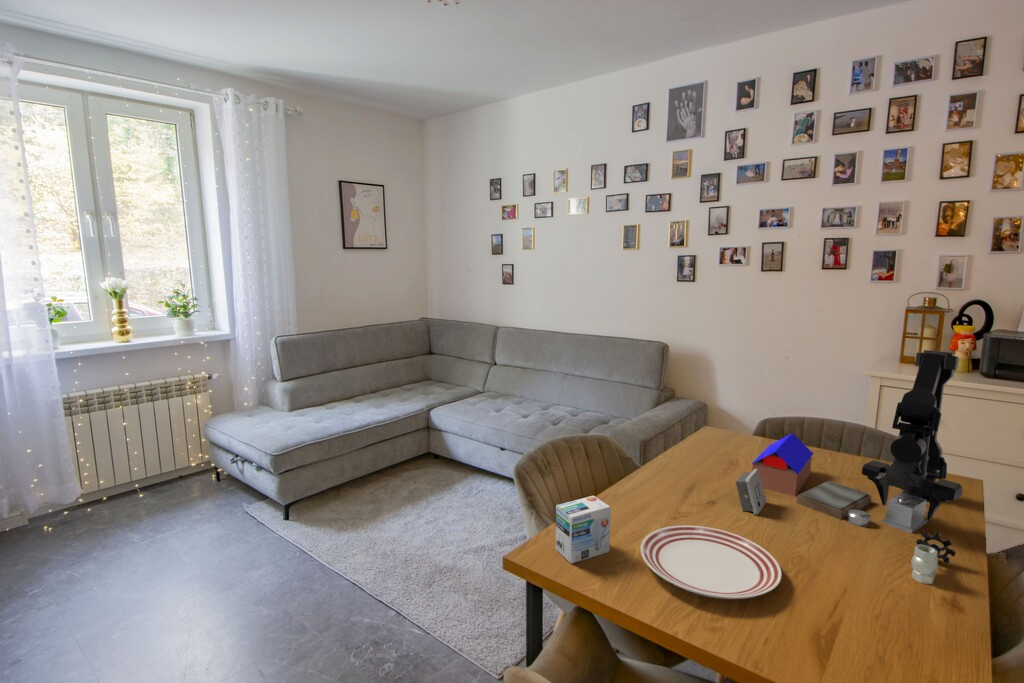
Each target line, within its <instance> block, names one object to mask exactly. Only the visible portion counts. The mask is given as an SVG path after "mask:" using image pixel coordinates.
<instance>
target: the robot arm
mask: <svg viewBox="0 0 1024 683" xmlns="http://www.w3.org/2000/svg"><path fill="white" fill-rule="evenodd" d="M959 360H960V358H959V356H957V355H954V352H951V351H938V350H931V349H930V350H928V349H924V350H923V352H916V354H915V360H914V366H915V367H918V370H917V373H916V377H915V380H914V383H913V387H912V388H911V390H909V391H907V392H904V394H903V396H902V398H901V401H898V403H897V405H896V410H895V413H894V417H893V422H892V427H891V429H895V430H899V434H898V436H897V437H896V438H895V439H894V440H893V441H892V442H891V444H890V453H891V455H892V456H893V458H894V460H893V462H892V464H891V465H889V463H885V462H883V461H879V460H876V459H873V460H871V461H869V462H866V463H865V464H863V465H862V467H861V475H863V476H866V477H867V479H868V480H870V481H871V482H872V483H874V485H875V486H876V490H877V492H878V495H879V498H880V501H881V504H882V506H884V507H886V506H887V505H888V500H889V498H888V497H889V491H890V488H889V487H895V488H898V489H900V490H901V493H902V492H903V493H906V494H909V495H913V496H916V497H919V498H922V499H926V502H930V503H929V505H928V506H929V507H928V510H927V514H926V516H927V517H926V519H927V522H928V521H929V522H930V521H931V520H932V519H933V517H935V514H936V513H937V511H938V510H939V508H940V507H941V505H942V504H943V503H947V502H954V501H956V500H957V499H959V498H961V497H962V496H963V490H964V488H963V486H962V485H961V483H958V482H955V481H950V480H948V479H947V475H948V463H947V462H946V460H945V457H943V448H942V447H941V445H940V443H939V441H938V439H937V438H938V432H939V427H940V423H941V419H942V412H941V411H942V404H943V396H944V389H945V385H947V383H948V382H949V381H950V380H951V379H952V378H953V377H954V374H955V371H958V369H959V368H958V367H959Z"/></svg>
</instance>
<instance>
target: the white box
mask: <svg viewBox="0 0 1024 683" xmlns="http://www.w3.org/2000/svg"><path fill="white" fill-rule="evenodd" d="M611 514H612V513H611V506H610V505H608V504H607V503H605V502H604V501H602V500H601V499H599V498H598V497H596V496H595V495H590V496H587V497H583V498H579V499H575V500H572V501H568V502H567V501H566V502H563V503H560V504H559V503H558V504H557V505H555V550H556V551H557V552H558V553H559V554H560V555H561V556H562V557H563V558H565V559H566V560H567V561H568V563H570V564H574V563H577V562H581V561H585V560H588V559H591V558H593V557H596V556H597V555H598V556H600V555H604V554H607V553H610V544H611V542H610V541H611V540H610V539H611V538H610V537H611ZM606 552H607V553H606ZM603 553H604V554H603Z"/></svg>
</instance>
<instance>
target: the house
mask: <svg viewBox="0 0 1024 683" xmlns="http://www.w3.org/2000/svg"><path fill="white" fill-rule="evenodd" d="M813 456H814V453H813V451H812V450H810V448H808V447H807V446H806V445H805V444H804V442H802V441H801V440H800V438H798V437H797V436H796V435H795V434H794V433H790V434H788V435H786V436H784V437H783V438H780V439H779V440H777V441H774V442H772V443H771V444H769V445H768V446H767V447H766V448H765V449H764V451H762V452H761V453H760V455H758V456H757V457H756V458H755V459H754V460H753V461H752V462H751V465H752V467H751V468H752V470H751V472H752V471H753V470H754V469H758V470H759V474H760V477H761V481H762V485H763V489H765V490H769V491H772V492H777V493H781V494H784V495H788V496H792V497H797V494H798V493H799V492H800V490H801V488H802V487H803V486H804V484H805V483H806V481H807V479H808V478H809V476H810V475H811V468H812V458H813Z"/></svg>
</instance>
